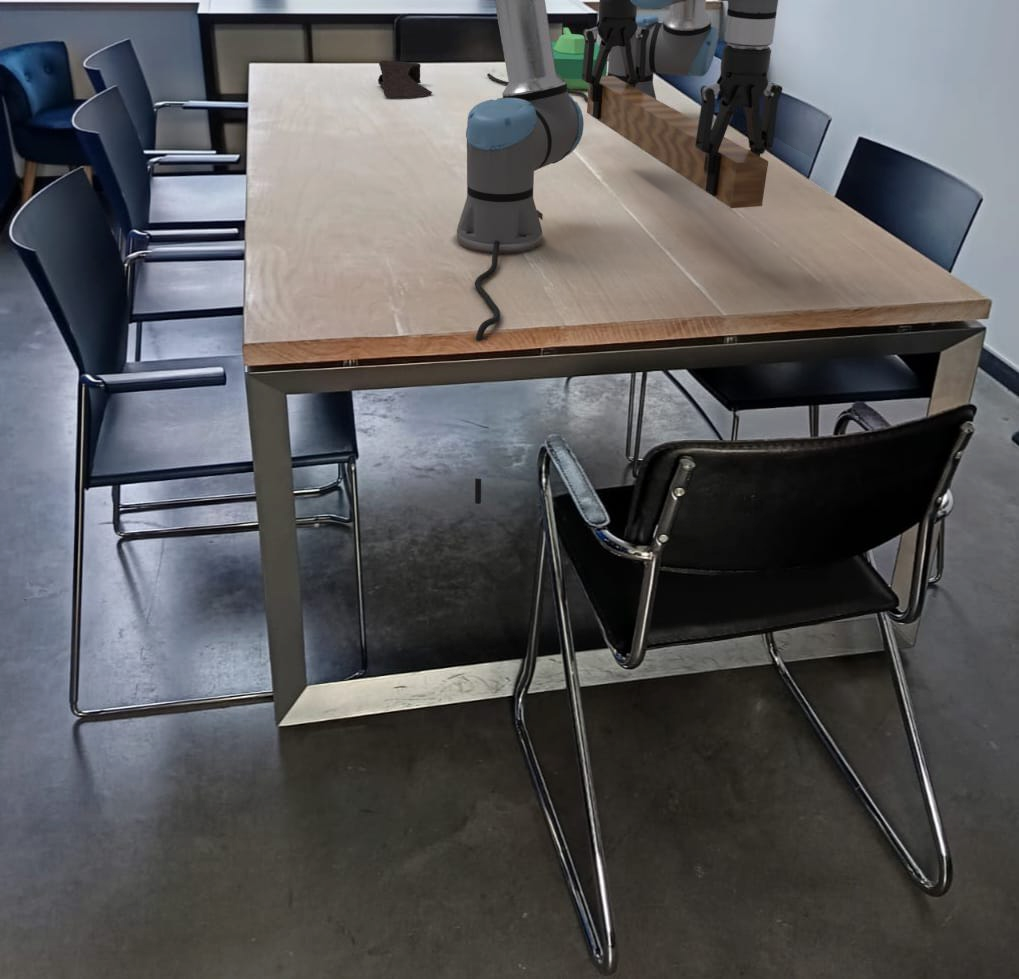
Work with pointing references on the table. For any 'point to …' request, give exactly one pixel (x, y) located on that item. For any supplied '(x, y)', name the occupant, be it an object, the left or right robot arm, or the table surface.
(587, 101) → the right robot arm
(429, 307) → the table surface
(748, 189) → the post
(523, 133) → the left robot arm
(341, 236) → the table surface
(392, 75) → the axe head
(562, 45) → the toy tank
